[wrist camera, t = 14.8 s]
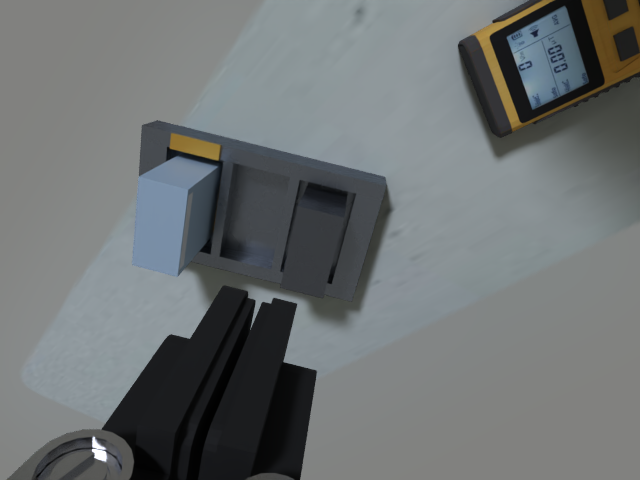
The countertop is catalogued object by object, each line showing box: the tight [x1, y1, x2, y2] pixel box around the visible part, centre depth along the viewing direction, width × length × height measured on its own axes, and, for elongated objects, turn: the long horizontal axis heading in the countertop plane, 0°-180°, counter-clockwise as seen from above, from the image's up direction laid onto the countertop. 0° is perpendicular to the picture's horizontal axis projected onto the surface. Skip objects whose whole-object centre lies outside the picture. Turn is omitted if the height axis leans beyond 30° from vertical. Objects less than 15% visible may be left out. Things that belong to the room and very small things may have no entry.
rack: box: [139, 120, 386, 302], centre depth 37 cm, size 11×20×7 cm, turn 77°
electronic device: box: [458, 0, 640, 138], centre depth 31 cm, size 8×16×3 cm, turn 118°
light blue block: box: [132, 153, 223, 277], centre depth 35 cm, size 7×4×8 cm, turn 166°
